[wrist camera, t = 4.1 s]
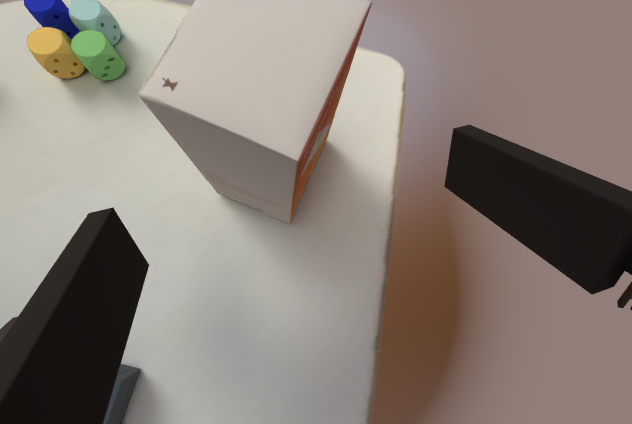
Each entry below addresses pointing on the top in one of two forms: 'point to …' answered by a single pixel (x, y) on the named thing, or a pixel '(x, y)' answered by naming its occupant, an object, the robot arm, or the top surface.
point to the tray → (121, 394)
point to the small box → (256, 92)
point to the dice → (75, 38)
